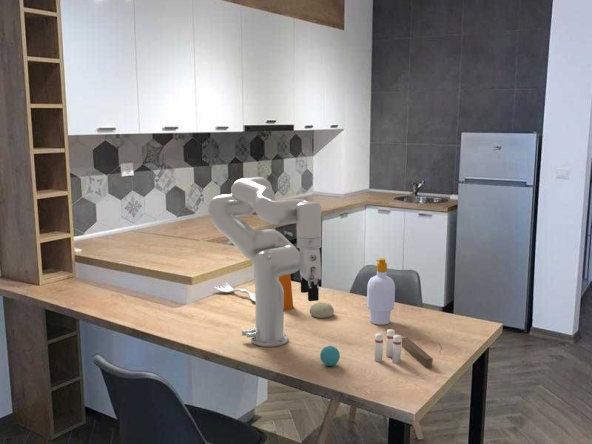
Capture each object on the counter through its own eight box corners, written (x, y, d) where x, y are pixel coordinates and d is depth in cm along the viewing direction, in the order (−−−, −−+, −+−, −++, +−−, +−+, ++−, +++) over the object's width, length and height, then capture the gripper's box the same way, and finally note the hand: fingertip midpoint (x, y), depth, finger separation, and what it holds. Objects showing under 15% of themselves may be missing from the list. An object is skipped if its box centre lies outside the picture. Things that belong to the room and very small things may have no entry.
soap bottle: (360, 322, 221) (362, 259, 217) (376, 315, 229) (378, 254, 224) (383, 328, 214) (385, 263, 210) (399, 321, 222) (401, 259, 218)
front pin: (376, 362, 185) (377, 336, 184) (373, 359, 188) (374, 333, 186) (383, 361, 186) (384, 335, 184) (380, 358, 188) (381, 332, 187)
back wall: (426, 368, 181) (426, 359, 180) (401, 346, 198) (402, 337, 198) (432, 367, 181) (432, 358, 181) (407, 345, 199) (407, 337, 198)
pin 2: (394, 363, 184) (395, 337, 182) (390, 360, 186) (392, 335, 185) (401, 363, 185) (402, 337, 183) (398, 360, 187) (399, 334, 185)
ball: (323, 369, 179) (323, 351, 178) (317, 361, 185) (318, 343, 184) (342, 368, 181) (342, 349, 180) (336, 360, 186) (336, 342, 185)
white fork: (225, 288, 263) (225, 281, 263) (280, 302, 244) (280, 294, 243) (210, 293, 256) (210, 285, 256) (266, 308, 237) (266, 300, 236)
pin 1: (387, 357, 189) (388, 332, 187) (384, 354, 191) (385, 329, 190) (395, 356, 189) (396, 331, 188) (391, 353, 192) (393, 328, 190)
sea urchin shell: (317, 304, 235) (329, 294, 230) (328, 321, 233) (340, 310, 228) (303, 310, 228) (315, 299, 224) (314, 327, 226) (326, 316, 221)
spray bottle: (269, 311, 232) (269, 245, 227) (279, 303, 242) (279, 240, 237) (285, 313, 229) (286, 247, 225) (295, 305, 239) (296, 242, 235)
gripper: (328, 246, 174) (328, 303, 176) (314, 236, 190) (314, 288, 193) (303, 248, 172) (304, 305, 175) (291, 238, 189) (291, 290, 191)
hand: (309, 296), depth 184 cm, fingers open, 9 cm apart
